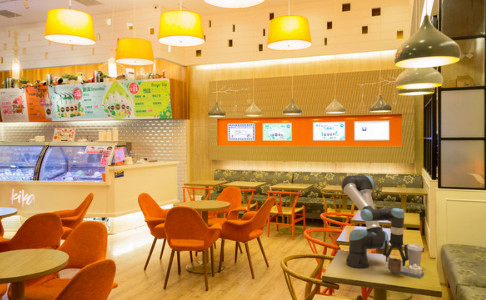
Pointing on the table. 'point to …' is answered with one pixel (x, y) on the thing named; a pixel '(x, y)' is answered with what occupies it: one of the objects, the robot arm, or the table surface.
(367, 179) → the robot arm
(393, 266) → the walnut gear
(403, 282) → the table surface
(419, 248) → the coffee cup
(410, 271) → the gear board
